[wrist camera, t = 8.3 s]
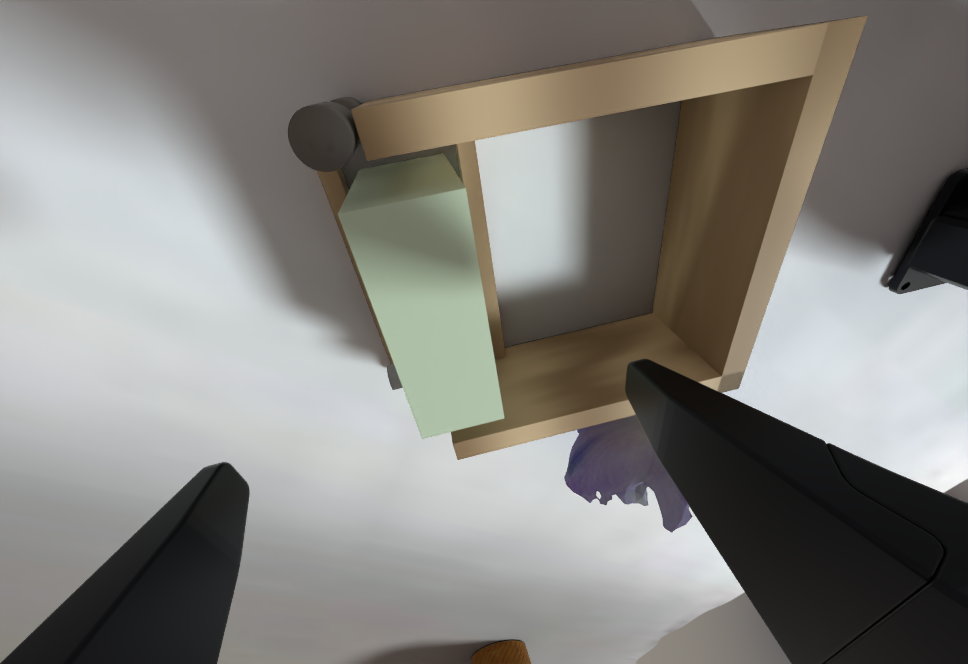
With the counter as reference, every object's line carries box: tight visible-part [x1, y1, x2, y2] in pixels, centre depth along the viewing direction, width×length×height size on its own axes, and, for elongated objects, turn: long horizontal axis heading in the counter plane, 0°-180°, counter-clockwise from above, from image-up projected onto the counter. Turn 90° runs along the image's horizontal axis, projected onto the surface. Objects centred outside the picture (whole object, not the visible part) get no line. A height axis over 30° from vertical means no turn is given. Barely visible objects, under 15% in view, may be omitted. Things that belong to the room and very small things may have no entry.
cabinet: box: [288, 16, 868, 460], centre depth 13 cm, size 14×12×6 cm
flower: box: [564, 415, 692, 532], centre depth 19 cm, size 9×9×10 cm
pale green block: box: [338, 153, 504, 439], centre depth 13 cm, size 4×8×6 cm, turn 8°
